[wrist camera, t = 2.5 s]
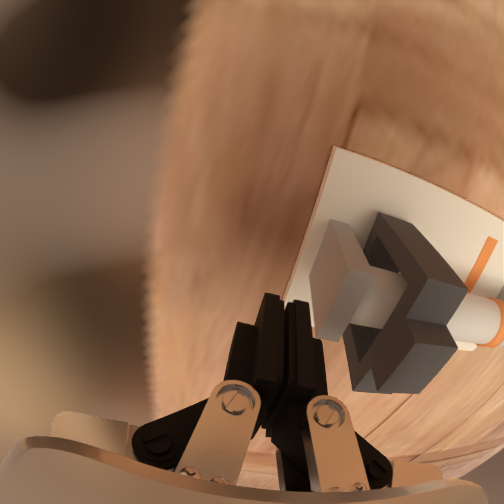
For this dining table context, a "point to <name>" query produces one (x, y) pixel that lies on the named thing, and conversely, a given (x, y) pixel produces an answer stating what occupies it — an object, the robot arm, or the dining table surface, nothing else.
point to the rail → (405, 203)
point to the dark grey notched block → (405, 314)
